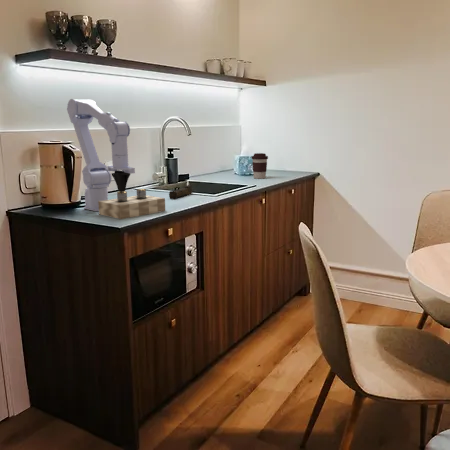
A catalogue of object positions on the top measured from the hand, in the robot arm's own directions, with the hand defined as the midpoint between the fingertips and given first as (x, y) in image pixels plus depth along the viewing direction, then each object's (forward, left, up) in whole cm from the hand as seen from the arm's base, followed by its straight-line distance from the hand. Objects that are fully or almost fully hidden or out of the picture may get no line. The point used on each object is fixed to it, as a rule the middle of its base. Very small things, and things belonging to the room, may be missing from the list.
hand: (121, 191), depth 176 cm
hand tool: (-16, +45, -9) cm, 49 cm away
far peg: (0, +9, -5) cm, 10 cm away
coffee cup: (-31, +123, -9) cm, 127 cm away
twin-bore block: (0, +4, -9) cm, 10 cm away
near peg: (0, 0, -5) cm, 5 cm away
